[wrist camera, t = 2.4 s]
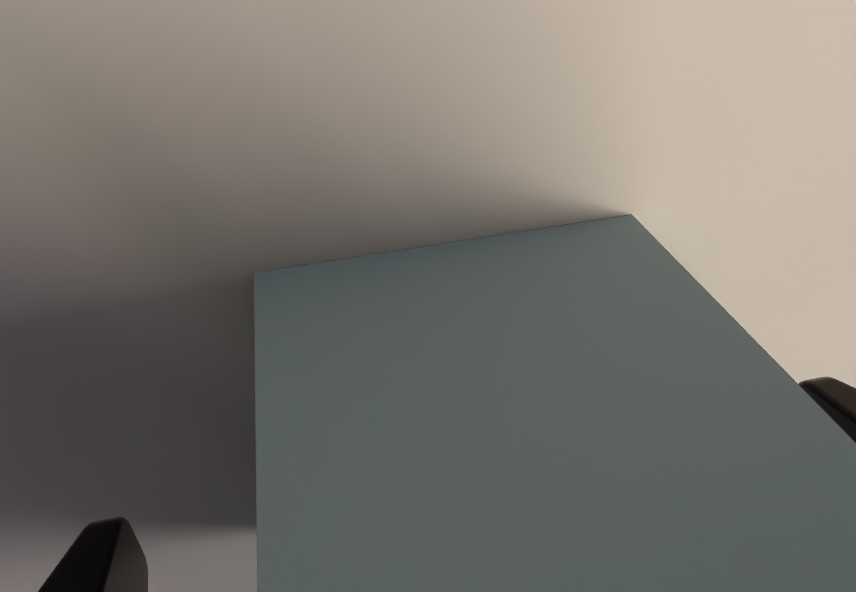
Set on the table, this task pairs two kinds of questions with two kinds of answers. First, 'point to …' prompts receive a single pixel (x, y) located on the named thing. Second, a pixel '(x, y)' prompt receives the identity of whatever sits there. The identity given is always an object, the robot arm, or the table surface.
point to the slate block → (535, 427)
